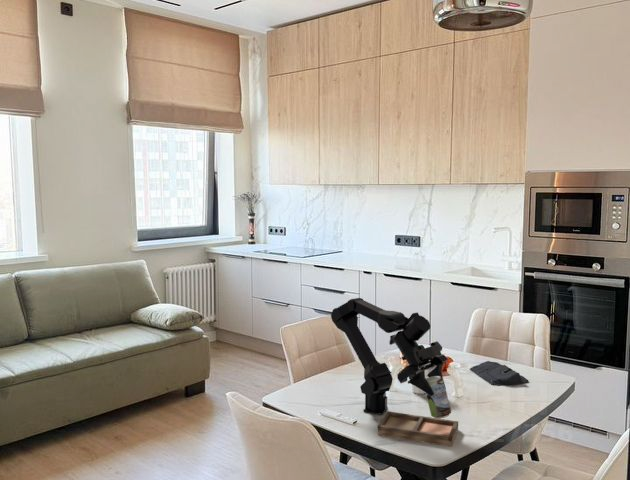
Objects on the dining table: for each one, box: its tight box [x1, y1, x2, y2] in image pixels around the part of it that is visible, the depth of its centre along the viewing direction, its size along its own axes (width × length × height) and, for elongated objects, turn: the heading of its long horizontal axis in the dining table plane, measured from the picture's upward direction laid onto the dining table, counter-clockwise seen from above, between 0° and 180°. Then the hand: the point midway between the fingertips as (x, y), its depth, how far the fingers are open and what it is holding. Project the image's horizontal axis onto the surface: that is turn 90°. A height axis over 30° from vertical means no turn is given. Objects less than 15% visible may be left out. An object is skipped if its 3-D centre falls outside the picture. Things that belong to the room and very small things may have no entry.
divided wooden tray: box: [377, 411, 459, 447], centre depth 175 cm, size 22×12×3 cm, turn 68°
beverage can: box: [424, 376, 452, 419], centre depth 172 cm, size 6×7×12 cm
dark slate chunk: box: [469, 360, 530, 387], centre depth 225 cm, size 15×22×5 cm
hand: (438, 392), depth 171 cm, fingers closed on beverage can, 6 cm apart
